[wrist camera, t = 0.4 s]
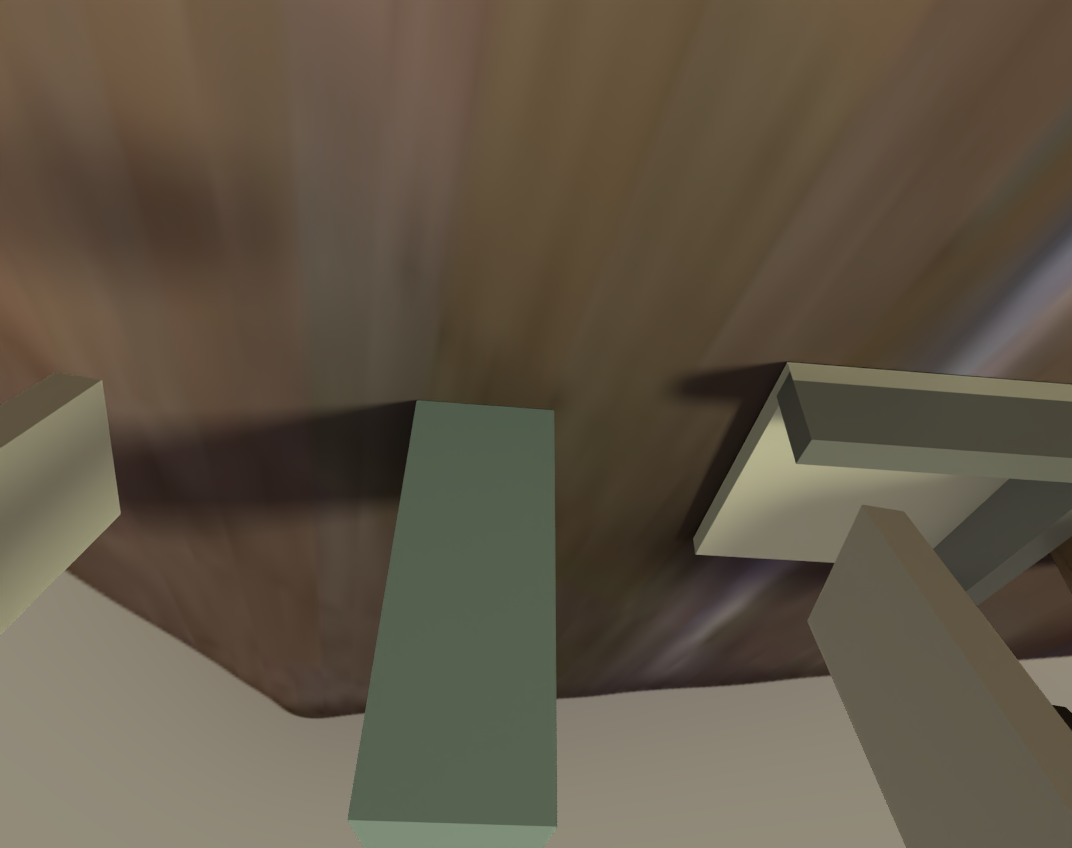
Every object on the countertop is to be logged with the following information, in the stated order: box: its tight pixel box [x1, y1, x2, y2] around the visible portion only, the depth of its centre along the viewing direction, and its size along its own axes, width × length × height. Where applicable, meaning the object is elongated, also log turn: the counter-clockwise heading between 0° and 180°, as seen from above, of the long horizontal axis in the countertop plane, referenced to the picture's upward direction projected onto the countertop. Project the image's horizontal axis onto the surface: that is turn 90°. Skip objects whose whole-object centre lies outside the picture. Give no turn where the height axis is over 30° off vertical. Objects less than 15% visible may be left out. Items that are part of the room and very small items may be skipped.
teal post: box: [348, 400, 557, 848], centre depth 27 cm, size 6×6×16 cm
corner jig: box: [693, 362, 1072, 606], centre depth 32 cm, size 14×14×4 cm
